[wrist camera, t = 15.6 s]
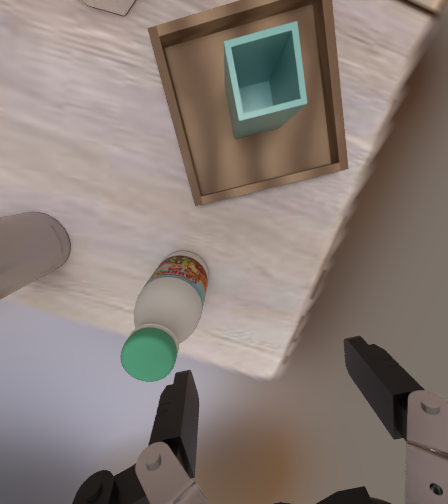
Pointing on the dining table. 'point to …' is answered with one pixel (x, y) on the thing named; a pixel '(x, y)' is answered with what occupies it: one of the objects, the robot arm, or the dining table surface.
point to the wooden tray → (216, 107)
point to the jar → (111, 5)
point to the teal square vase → (264, 79)
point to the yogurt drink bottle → (165, 316)
